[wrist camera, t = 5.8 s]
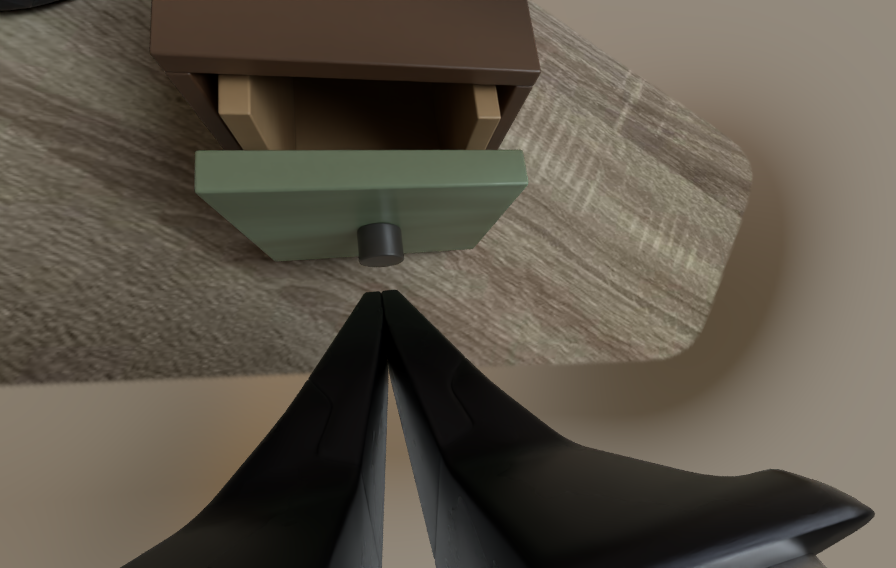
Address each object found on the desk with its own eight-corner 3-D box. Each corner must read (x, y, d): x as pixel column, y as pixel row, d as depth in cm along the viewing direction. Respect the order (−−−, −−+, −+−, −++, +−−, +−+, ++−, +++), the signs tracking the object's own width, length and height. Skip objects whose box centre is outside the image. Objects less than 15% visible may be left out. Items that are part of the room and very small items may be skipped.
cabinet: (472, 195, 18) (542, 72, 10) (264, 201, 16) (147, 52, 8) (449, 33, 20) (493, -179, 12) (259, 20, 18) (161, -247, 10)
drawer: (477, 273, 16) (536, 221, 10) (275, 289, 14) (192, 238, 8) (450, 83, 18) (486, -62, 12) (269, 76, 16) (197, -100, 10)
